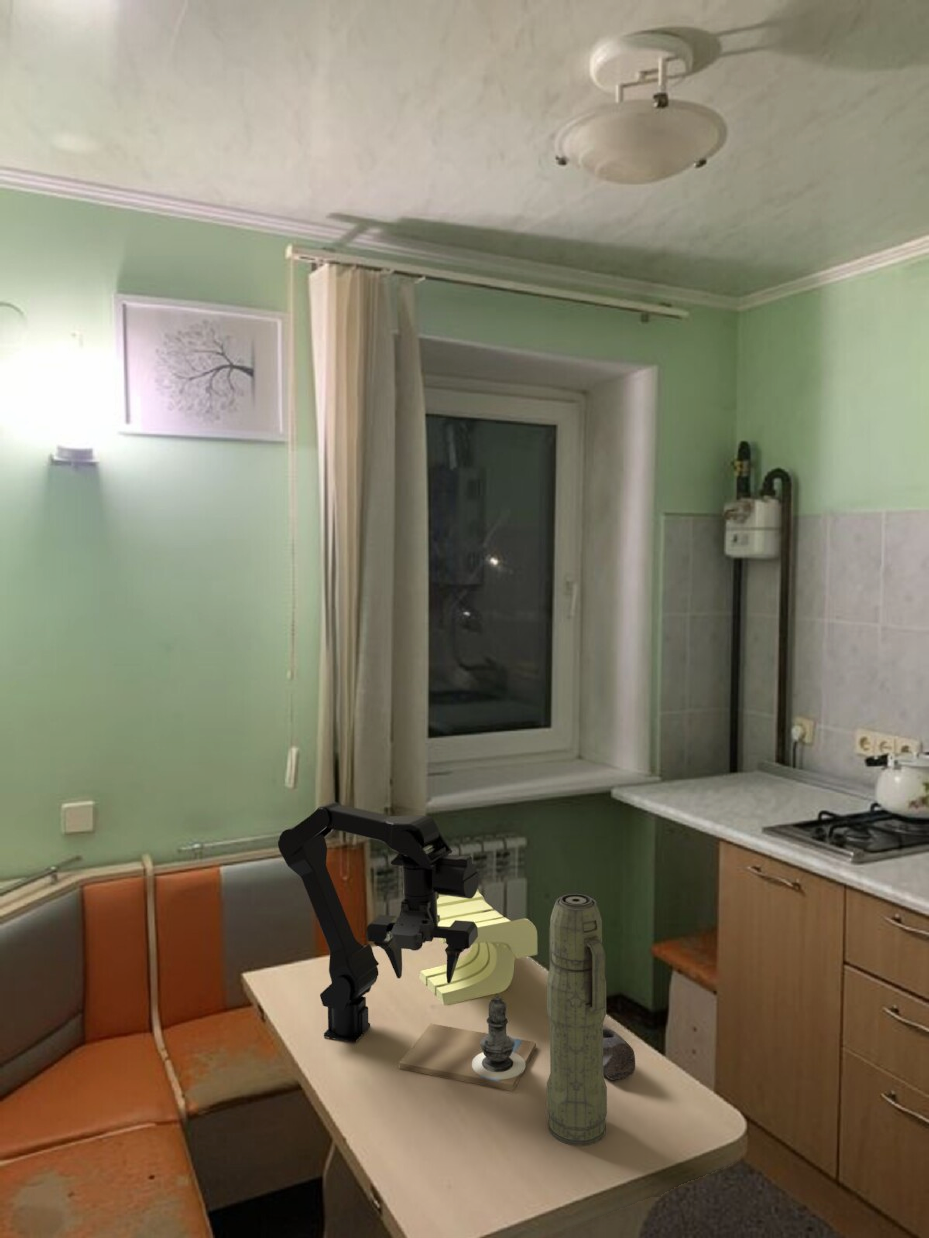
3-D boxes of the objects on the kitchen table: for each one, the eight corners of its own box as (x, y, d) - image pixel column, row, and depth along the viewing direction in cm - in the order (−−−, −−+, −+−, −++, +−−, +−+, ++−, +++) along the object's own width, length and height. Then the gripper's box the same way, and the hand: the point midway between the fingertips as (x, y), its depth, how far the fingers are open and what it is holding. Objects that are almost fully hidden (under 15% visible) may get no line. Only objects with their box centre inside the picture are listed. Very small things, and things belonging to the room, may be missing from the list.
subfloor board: (399, 1068, 153) (399, 1062, 153) (430, 1028, 166) (430, 1022, 166) (515, 1091, 146) (515, 1084, 146) (538, 1047, 159) (538, 1041, 159)
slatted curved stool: (537, 1006, 174) (537, 915, 173) (462, 1024, 168) (461, 930, 167) (471, 947, 202) (470, 869, 201) (404, 961, 195) (403, 880, 194)
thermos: (583, 1159, 129) (582, 918, 127) (529, 1119, 139) (527, 894, 137) (626, 1135, 134) (626, 904, 133) (571, 1098, 144) (570, 882, 142)
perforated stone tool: (564, 1047, 160) (564, 1009, 159) (589, 1040, 162) (589, 1002, 161) (611, 1091, 146) (611, 1050, 146) (638, 1084, 148) (638, 1042, 148)
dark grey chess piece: (498, 1077, 148) (498, 1005, 148) (472, 1063, 152) (472, 994, 152) (522, 1062, 153) (521, 993, 152) (496, 1050, 157) (495, 982, 156)
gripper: (350, 903, 152) (355, 995, 152) (456, 911, 146) (461, 1006, 147) (377, 882, 163) (381, 967, 163) (476, 888, 157) (480, 977, 157)
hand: (424, 979), depth 157 cm, fingers open, 9 cm apart
